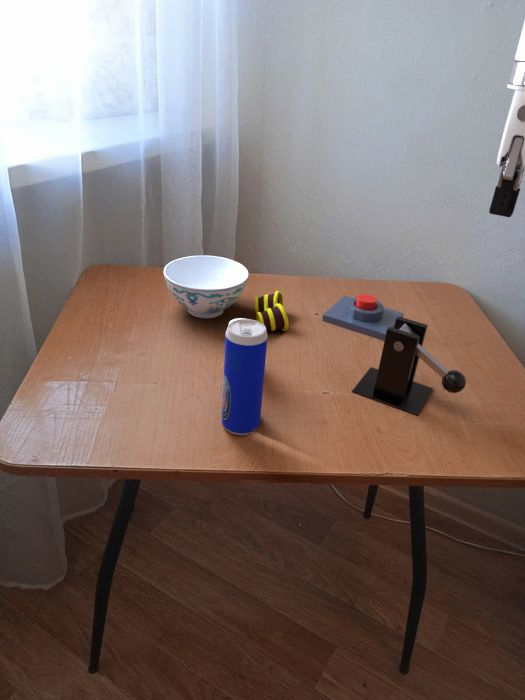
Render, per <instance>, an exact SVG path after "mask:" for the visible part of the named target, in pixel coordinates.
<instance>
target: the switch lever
mask: <svg viewBox="0 0 525 700" xmlns="http://www.w3.org/2000/svg"><path fill="white" fill-rule="evenodd" d="M399 330H402V331H405V332H408V333H411V334H415V335H418V334H417V333H415V332H414V331H413V330H412V329H411V328H410V327H409V326H408V325H406V324H404V325H403V326H402V327H401V328H400V329H399ZM418 336H419V335H418ZM416 355H417V356H418V357H419V360H421V361H423V362H424V364H426V365H427V366H429V368H430V369H431V370H432V371H434V372H435V373H436V374H437V375H438V376H439V377H440V378H441V385H442V387H443V389H444V390H445V391H446V392H448V393H450V394H458V393H460V392H462V391H463V390H464V389H465V387H466V384H467V379H466V376H465V374H463V373H462V372H461V371H459V370H456V369H451V370H449V369H448V368H447V367H446V366H445V365H443V364H442V363H441V362H440V361H439V360H438V359H436V358H435V356H433V355H432V354H431V353H430V352H429V351H427V350H426V348H424V347H423V346H421V345H420V344H418V346H417V350H416Z"/></svg>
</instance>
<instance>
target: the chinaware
mask: <svg viewBox="0 0 525 700" xmlns="http://www.w3.org/2000/svg"><path fill="white" fill-rule="evenodd" d="M163 275H164V281H165V284H166V286H167V289H168V291H169V293H170V294H171V296H172V298H174V300H175V301H176V302H177V303H178V304H180V305H181V306H182V307H183V308H185V309H186V311H187V312H188V314H190V315H191V316H193V317H196V318H200V319H213V318H217V317H219V316H221V315H223V313H224V311H225V310H227V309H229V308H230V307H231V306H232V305H234V304H235V303H236V302H237V301H238V300H239V299H240V297H241V296H242V294H243V292H244V290H245V288H246V286H247V283H248V279H249V270H248V269H247V268H246V267H245V266H244V265H243V264H242V263H240V262H238V261H236V260H234V259H233V260H232V259H230V258H227V257H223V256H216V255H215V256H214V255H191V256H185V257H181V258H177V259H174V260H172V261H170V262H168V263H167V264H165V266H164V269H163Z"/></svg>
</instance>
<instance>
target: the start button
mask: <svg viewBox="0 0 525 700" xmlns="http://www.w3.org/2000/svg"><path fill="white" fill-rule="evenodd" d="M356 297H357V299H356V307H357V308H360V309H363V310H375V307H376V302H377V301H378V299H377V297H376V296H374V295H372V294H368V293H360V294H357V296H356Z"/></svg>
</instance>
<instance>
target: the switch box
mask: <svg viewBox="0 0 525 700" xmlns="http://www.w3.org/2000/svg"><path fill="white" fill-rule="evenodd" d="M356 299H357V296H355V297H351V296H347V295H343V296H342V297H340V299H338V301H336V302H335V303H334V304H333V305H332V306H331V307H330V308H329V309H327V310H326V311H325V312H324V313H323V314H322V322H324V323H327V324H330V325H334V326H337V327H340V328H343V329H346V330H349V331H353V332H355V333H359V334H361V335H366V336H368V337H371V338H375V339H378V340H381V341H385V336H386V332H387V329H388V328H389V327H392V328H394V326H395V321H396V318H397V317H398V316H399V317H403V318H404V314H405V313H404V312H401V311H398V310H394V309H391V308H388V307H385V306H384V305H383V303H382V302H380V301H379V300H377V302H376V307H375V310H363V309H360V308H357V307H356Z"/></svg>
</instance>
